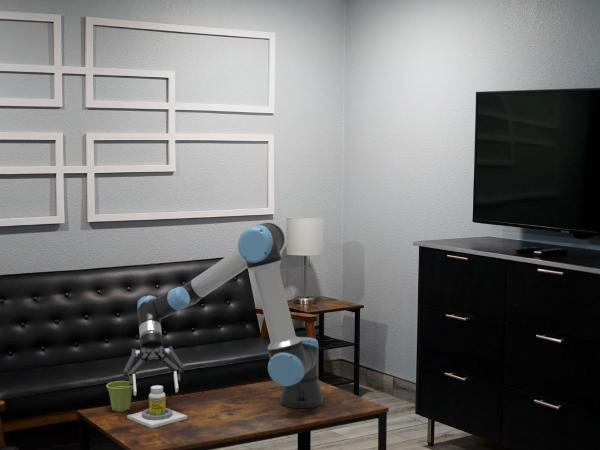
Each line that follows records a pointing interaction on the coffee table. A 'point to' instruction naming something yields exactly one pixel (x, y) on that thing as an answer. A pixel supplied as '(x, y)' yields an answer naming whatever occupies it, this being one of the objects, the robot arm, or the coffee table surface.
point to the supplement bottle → (157, 401)
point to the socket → (156, 418)
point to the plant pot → (120, 395)
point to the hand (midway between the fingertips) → (156, 392)
